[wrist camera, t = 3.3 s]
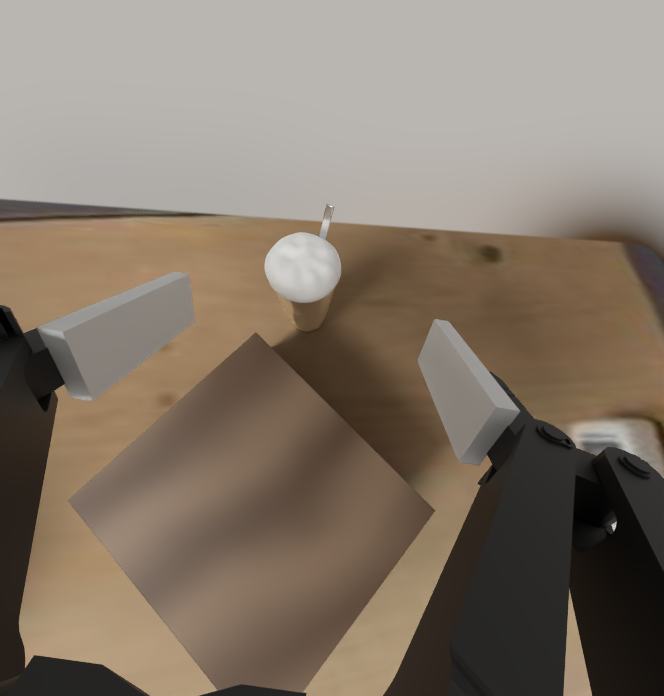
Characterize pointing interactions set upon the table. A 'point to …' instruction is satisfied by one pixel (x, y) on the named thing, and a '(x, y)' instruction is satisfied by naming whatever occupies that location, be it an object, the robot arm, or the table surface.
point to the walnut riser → (253, 521)
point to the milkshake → (304, 275)
